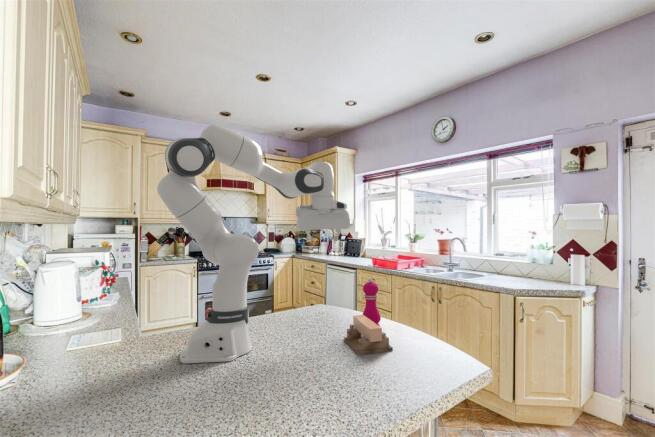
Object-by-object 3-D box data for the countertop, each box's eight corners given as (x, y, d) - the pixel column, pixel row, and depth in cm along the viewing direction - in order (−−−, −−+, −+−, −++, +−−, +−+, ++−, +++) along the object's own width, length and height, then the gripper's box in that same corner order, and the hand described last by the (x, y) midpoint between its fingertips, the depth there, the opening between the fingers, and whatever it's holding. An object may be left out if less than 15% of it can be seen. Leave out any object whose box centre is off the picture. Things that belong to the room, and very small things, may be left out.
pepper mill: (382, 332, 121) (380, 279, 121) (363, 332, 121) (362, 279, 122) (379, 326, 128) (378, 276, 129) (361, 326, 128) (360, 276, 129)
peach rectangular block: (370, 342, 100) (370, 329, 100) (353, 326, 115) (353, 315, 115) (382, 340, 101) (381, 328, 101) (363, 325, 116) (363, 314, 116)
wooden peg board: (357, 355, 100) (357, 337, 100) (344, 340, 113) (343, 324, 113) (392, 350, 103) (392, 333, 103) (375, 336, 116) (374, 321, 116)
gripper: (297, 204, 114) (298, 242, 114) (350, 204, 119) (351, 241, 119) (294, 205, 120) (295, 242, 120) (345, 205, 126) (346, 240, 125)
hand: (323, 241), depth 120 cm, fingers open, 8 cm apart
